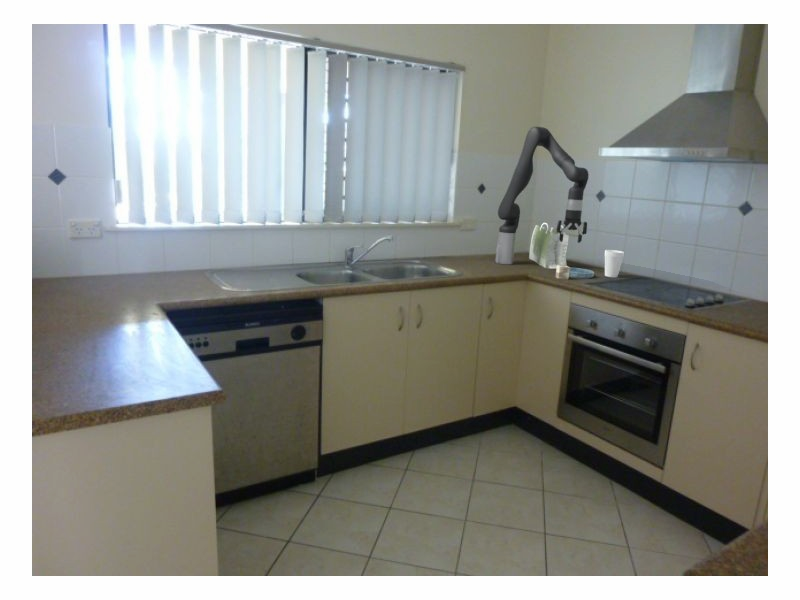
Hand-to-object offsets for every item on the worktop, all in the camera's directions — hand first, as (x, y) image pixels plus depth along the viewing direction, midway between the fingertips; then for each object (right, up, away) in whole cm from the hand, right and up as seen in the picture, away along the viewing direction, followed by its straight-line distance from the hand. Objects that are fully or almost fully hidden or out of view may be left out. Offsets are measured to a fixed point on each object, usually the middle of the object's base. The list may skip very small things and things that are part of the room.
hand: (570, 242), depth 281 cm
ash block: (-4, -18, +1) cm, 18 cm away
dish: (+7, -16, +12) cm, 21 cm away
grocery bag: (0, -8, +43) cm, 44 cm away
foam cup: (+26, -16, +15) cm, 34 cm away
